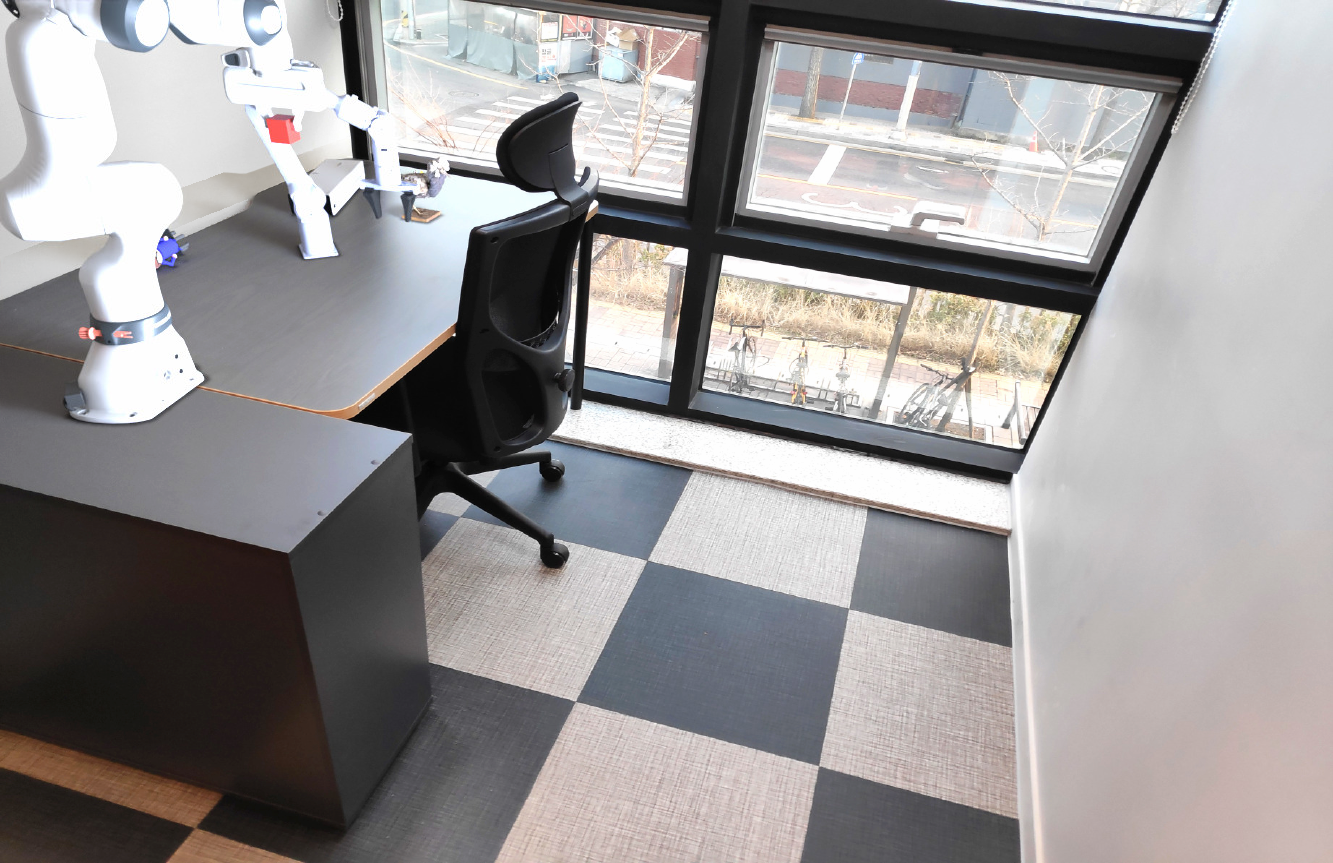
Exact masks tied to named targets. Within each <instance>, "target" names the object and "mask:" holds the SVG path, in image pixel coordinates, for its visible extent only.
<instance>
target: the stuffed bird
mask: <svg viewBox="0 0 1333 863" xmlns="http://www.w3.org/2000/svg"><path fill="white" fill-rule="evenodd" d="M449 166H450V163H449V162H448V160H447V159H446V157H444V156H438V157H437V158H436V159H431V160H430V161H429V162H428V163H427V166H426V167H427V168H426V172H423V173H420V172H418V173H413V172H410V173H409V172H408V173H406V174H403V173H400V177H401V181H404V182H408V183H412V184H419V188H420V192H419V193H418V194H417V196H416V199H429V198H432V199H433V198H436V197H437V196H438V194H439V193H440V192H441V190H442V188H443V185H444V184H445V179H447V177H449V178H450V179H452V180H454V179H453V177H452V176H451V175H450V174H449V173H447V171H449V170H450V167H449ZM441 215H442V213H441V211H440V210H436V209H435V210H434V209H430V208H424V207H417V206H415V205H413V209H412V215H411V220H410V221H414V222H420V223H429V222H430V221H432V220H434V219H435V218H437V217H438V216H441ZM401 219H403V220H405V216H404V213H403V214H402V215H401Z"/></svg>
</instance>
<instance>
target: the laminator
mask: <svg viewBox="0 0 1333 863" xmlns="http://www.w3.org/2000/svg"><path fill="white" fill-rule="evenodd" d="M307 175H308V176H309V177H310V178H311V179H312V180H313V182H314V184H315V185H316V186H317V187H319V188H320V189H321V190H322V191H323V192H324V194H325V196H326V202H325V205H324V207H323V209H324V210H325V212H326V213H327V214H328V216H333V217H335V216H336V215H337V214H338V213H339V212H340V210H341V209H342V208H343V207H344V206H345V205H346V204H347V202H348V201H349V200H350V199H351V198H352V197H353V196H354V194H355V193H356V192H357V191H358V190H359V189H360V185H359V181H360V180H361V179H366V173H365V166H364V161H363V160H359V159H358V160H357V159H336V158H326V159H324V160H323V161H322V162H321V163H320V164H319V165H318V166H317V167H315V168H314V169H313V170H312V171H311V172H310V173H309V174H307ZM287 198H288V204H289V208H290V212H291V214H292V215H296V213H295V211H294V203H293V200H292V198H291V197H290V193H289V192H288V193H287Z"/></svg>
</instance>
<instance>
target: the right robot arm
mask: <svg viewBox="0 0 1333 863" xmlns="http://www.w3.org/2000/svg"><path fill="white" fill-rule="evenodd" d="M325 90H326V94H327V98H328V105H327V107H326V108H329V109H331V110H333V111H334V113H335V116H336V117H337V118H338V119H340V120H342V121H344V122H346V123H348V124H350V125H352V126H354V127H356V128H358V129H360V130H362V131H365V132H366V131H367V132H368V133H369V135H370V137H371V141H372V142H371V144H372V145H371V149H372V157H373V163H374V164H373V165H374V173H375V178H365V179H361V180H360V181H359V185H360V188H359V189H361V190H363V191H362V196H363V197H364V198H365V200H366V201H367V202H368V203H369V205H370V207H371V210H372V212H373V214H374V217H375V219H376V220H380V219H381V218H382V217H383V211H382V204H381V191H389V192H399V193H402V194H401V195H400V196H399V198H400V200H401V203H402V207H403V208H402V209H403V214H404V216H405V219H404V221H405V223H410V221H412V220H411V215H412V209H414V207H413V205H414V204H415V201H416V199H417V198H416V196H417V194H418V193H419V192H420V188H419V184H412V183H408V182H404V181H401V177H400V174H401V170H400V160H399V152H398V145H397V139H396V136H395V133H396V122H395V119H394V117H393V116H392V114H391V113H389V112H387V110H386V109H383V108H382V109H381V108H380V109H379V107H378V106H375V105H374V106H371V105H369V104H367V103H365V102H363V101H361V100H359V99H358V98H359V96H357V95H355V94H352V95H350V94H347V93H346V94H342V95H337V94H336V93H335V92H332V91H331V90H328V89H327V88H325ZM244 111H245V114H246V115H247V117H248V119H249V121H250V123H251V124H252V125H253V127H254V129H255V131H256V132H257V135H258V136H259V138H260V139H261V141H262V143H263V145H264V146H265V148H266V150H267V152H268V153H269V155H270V157H271V159H272V161H273V162H274V164H275V165H276V168H277V169H278V171H279V173H280V174H281V176H282V178H283V180H284V182H285V183H286V185H287V189H288V193H290V197H291V198H292V200H293V203H294V211H295V213H296V214H295V215H296V222H297V227H298V231H299V236H300V242H301V243H299V244H298V247H299V250H300V252H301V255H302V257H303V259H305V260H308V259H319V258H326V257H335V256H339V253H338V250H337V248H336V247H335V244H334V242H333V236H332V230H331V224H330V219H329V215H328V214H327V213H326V212H325V210H324V209H323V207H324V205H325V202H326V196H325V194H324V192H323V191H322V190H321V189H320V188H319V187H317V186H316V185H315V184H314V182H313V180H312V179H311V178H310V177H309V176H308V175H309V174H308V173H307V172H306V171H305V169H304V167H303V165H302V164H301V161H300V159H298V156H297V154H296V152H295V150H293V148H292V146H291V144H290V145H289V144H279V143H271V141H270V136H269V131H268V128H265V125H264V120H263V119H262V118H261V116H260V115H259V114H258V113H257V111H256V107H255V105H247V104H244ZM266 111H267V113H268V114H269V116H270V117H272V116H274V115H275V114H273V111H272V107H268V109H266ZM414 206H415V205H414Z"/></svg>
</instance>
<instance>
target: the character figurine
mask: <svg viewBox="0 0 1333 863" xmlns="http://www.w3.org/2000/svg"><path fill="white" fill-rule="evenodd" d="M176 234H177V232H176V231H175V230H170V229H169V228H168V227H167V228H166V229H165V231H164V232H163V234H162V235H161V237H160V239H159V242H158V244H157V248H156V252H155V269H158V268H159V267H160V266H162V265H163V266H164V265H165V266H166V265H167V266H170V267H173V266H174V264H175V261H176V259H177V258H178V257H182V256H184V255H185V253H184V252H185V251H187V250H188V249H189V246H190V242H185V243H184V244H182V245H179V243H178V242H177V241H179V240H181V239H183V238H185V236H186V234H184V233H181V234H179V235H177V236H175V235H176ZM174 236H175V237H174Z"/></svg>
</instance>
